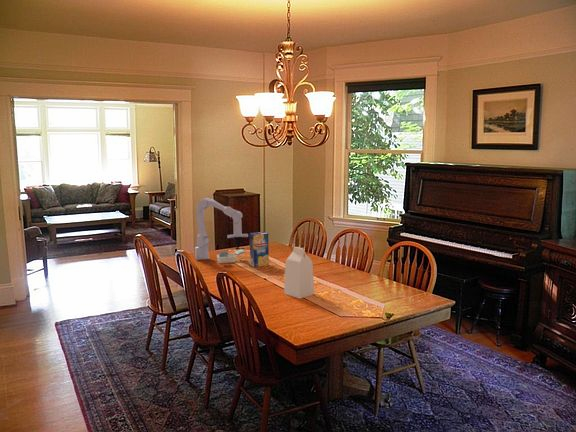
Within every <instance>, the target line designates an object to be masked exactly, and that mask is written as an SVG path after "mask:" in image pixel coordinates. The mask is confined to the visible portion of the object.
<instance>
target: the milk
mask: <svg viewBox="0 0 576 432" xmlns="http://www.w3.org/2000/svg"><path fill="white" fill-rule="evenodd" d="M313 265H314V264H313V261H312V259H311V258H310V257H309V256H308V255H307V254H306V252H305V248H304V247H299V246H294V247H293V249H292V252H291V253H290V255H288V257H287V258H286V260H285V264H284V283H283V284H284V285H283V286H284V288H283V289H284V290H283V291H284V292H283V294H284V295H286V296H290V297H293V298H297V299H303V298H306V297H308V296H312V295H314V294H315V285H314V283H315V282H314V281H315V280H314V270H313V269H314V266H313Z"/></svg>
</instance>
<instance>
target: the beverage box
mask: <svg viewBox="0 0 576 432" xmlns="http://www.w3.org/2000/svg"><path fill="white" fill-rule="evenodd" d="M248 236H249V265H250V266H251V267H253V268H257V267H263V266H269V264H270V263H269V262H270V261H269V260H270V259H269V258H270V257H269V254H270V253H269V233H268V232H266V231H260V232H259V231H257V232H250V233H249V234H248Z"/></svg>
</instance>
